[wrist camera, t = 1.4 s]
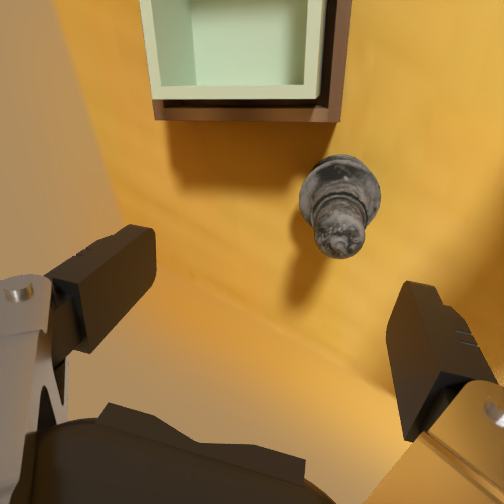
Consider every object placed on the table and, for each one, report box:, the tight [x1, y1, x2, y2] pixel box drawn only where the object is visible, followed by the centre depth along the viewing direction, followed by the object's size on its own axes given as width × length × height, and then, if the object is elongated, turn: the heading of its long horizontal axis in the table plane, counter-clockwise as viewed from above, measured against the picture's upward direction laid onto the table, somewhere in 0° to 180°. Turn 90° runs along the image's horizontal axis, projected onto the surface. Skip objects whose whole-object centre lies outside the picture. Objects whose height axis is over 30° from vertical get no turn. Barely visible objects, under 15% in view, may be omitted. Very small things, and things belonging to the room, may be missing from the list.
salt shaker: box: [299, 155, 381, 259], centre depth 23 cm, size 6×6×12 cm
